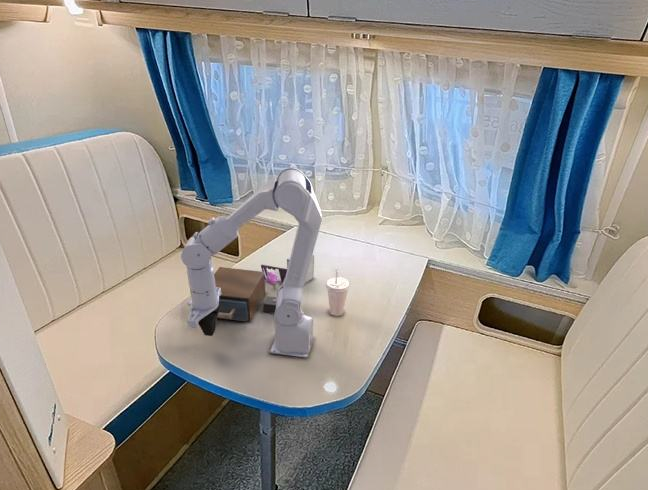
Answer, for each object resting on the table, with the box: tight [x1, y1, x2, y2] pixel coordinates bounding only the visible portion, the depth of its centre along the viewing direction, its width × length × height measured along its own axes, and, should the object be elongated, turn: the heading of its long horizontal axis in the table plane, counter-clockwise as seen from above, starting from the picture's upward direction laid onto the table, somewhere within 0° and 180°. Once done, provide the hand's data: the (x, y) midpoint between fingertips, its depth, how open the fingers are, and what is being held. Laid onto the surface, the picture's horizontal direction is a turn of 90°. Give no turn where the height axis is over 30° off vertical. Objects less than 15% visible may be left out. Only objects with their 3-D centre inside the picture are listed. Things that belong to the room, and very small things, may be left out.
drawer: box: [217, 298, 248, 322], centre depth 118 cm, size 18×12×6 cm
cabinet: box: [214, 266, 266, 323], centre depth 121 cm, size 15×14×8 cm
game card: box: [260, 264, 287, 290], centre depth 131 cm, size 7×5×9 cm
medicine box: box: [286, 254, 315, 284], centre depth 134 cm, size 8×4×9 cm, turn 141°
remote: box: [262, 295, 277, 314], centre depth 121 cm, size 4×8×3 cm, turn 82°
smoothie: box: [326, 268, 351, 317], centre depth 119 cm, size 6×6×14 cm
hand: (209, 334), depth 105 cm, fingers closed
